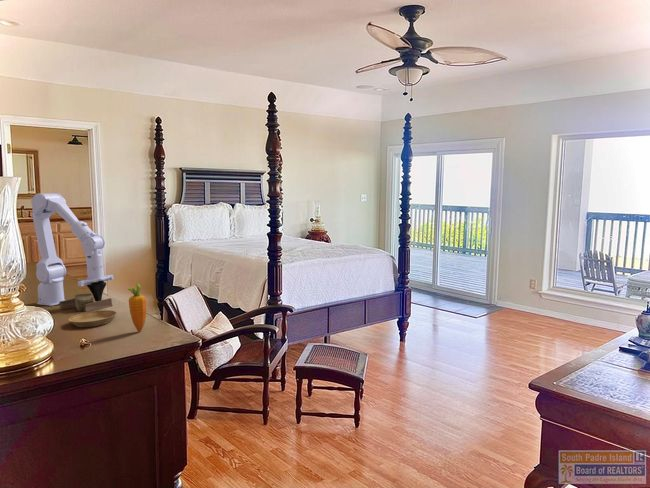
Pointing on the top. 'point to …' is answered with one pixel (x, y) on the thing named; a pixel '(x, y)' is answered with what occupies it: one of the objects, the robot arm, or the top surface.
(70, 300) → the chute
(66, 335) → the top surface
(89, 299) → the stone block
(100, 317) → the plant saucer
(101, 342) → the top surface
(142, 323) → the carrot
